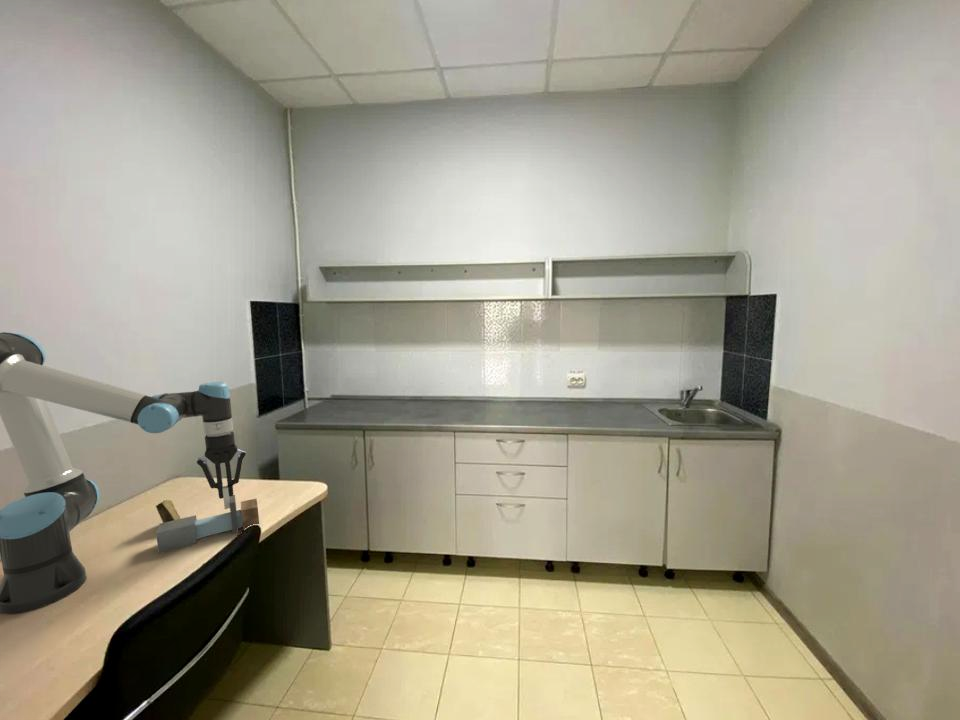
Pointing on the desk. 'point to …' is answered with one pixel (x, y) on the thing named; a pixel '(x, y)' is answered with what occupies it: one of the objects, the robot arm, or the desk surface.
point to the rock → (167, 511)
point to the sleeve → (176, 534)
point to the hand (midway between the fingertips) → (227, 506)
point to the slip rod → (220, 522)
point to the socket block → (249, 513)
